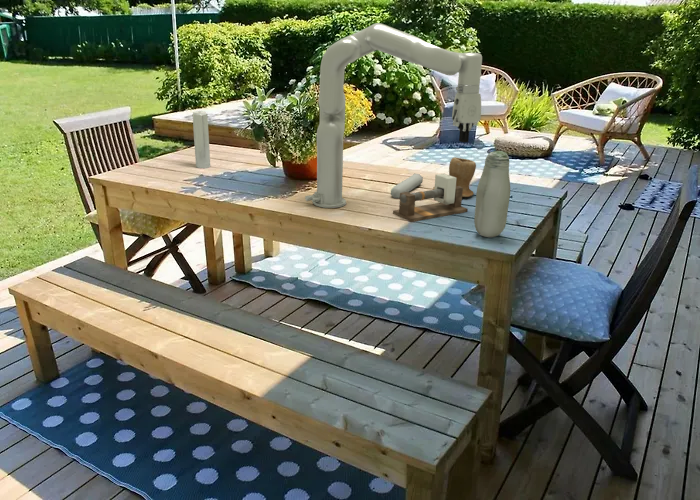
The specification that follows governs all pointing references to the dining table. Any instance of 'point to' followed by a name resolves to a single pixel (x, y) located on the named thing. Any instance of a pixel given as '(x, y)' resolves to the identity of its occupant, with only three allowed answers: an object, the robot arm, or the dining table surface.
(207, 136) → the grey upright post
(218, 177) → the dining table surface
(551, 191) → the dining table surface
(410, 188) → the tube
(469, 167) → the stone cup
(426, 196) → the pipe stand
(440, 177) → the cream upright slab
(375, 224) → the dining table surface
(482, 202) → the glass bottle
